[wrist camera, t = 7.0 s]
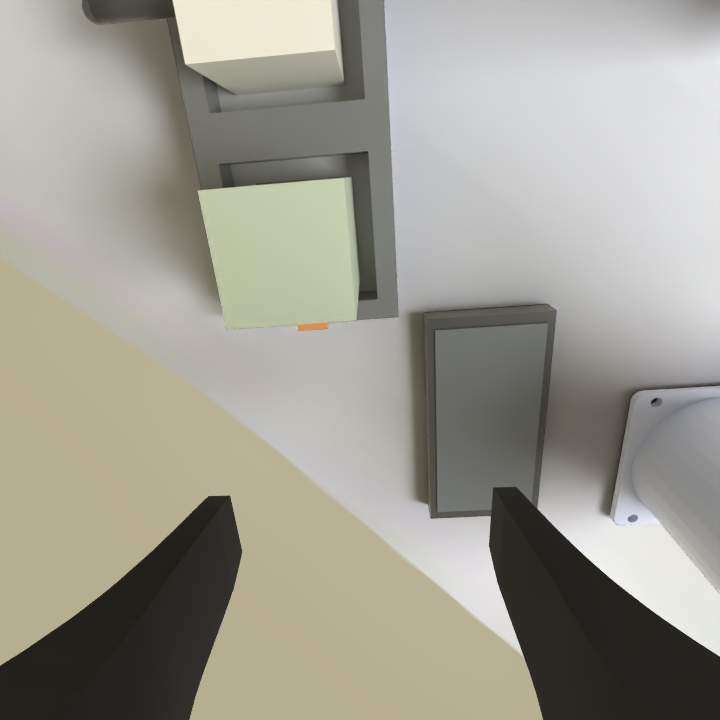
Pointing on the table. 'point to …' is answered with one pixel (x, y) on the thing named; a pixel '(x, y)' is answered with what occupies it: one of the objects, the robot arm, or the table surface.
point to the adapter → (246, 39)
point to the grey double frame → (311, 142)
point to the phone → (485, 404)
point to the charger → (284, 252)
